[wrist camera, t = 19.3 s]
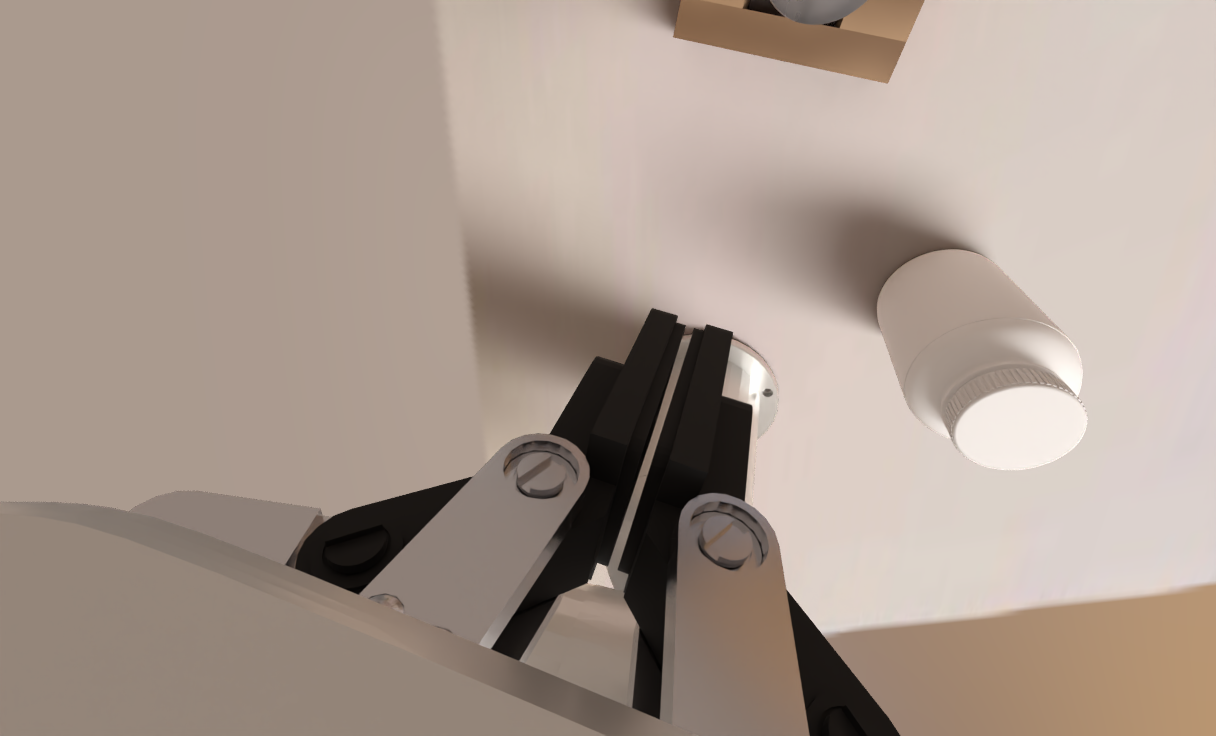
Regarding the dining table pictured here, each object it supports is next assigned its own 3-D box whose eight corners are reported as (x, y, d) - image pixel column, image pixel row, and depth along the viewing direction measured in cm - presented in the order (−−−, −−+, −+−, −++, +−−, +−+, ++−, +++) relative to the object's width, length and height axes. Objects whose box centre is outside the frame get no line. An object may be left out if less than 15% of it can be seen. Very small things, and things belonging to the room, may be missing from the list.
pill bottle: (1034, 293, 34) (1172, 435, 22) (926, 365, 38) (990, 514, 26) (949, 220, 33) (1044, 326, 21) (850, 303, 37) (880, 428, 25)
